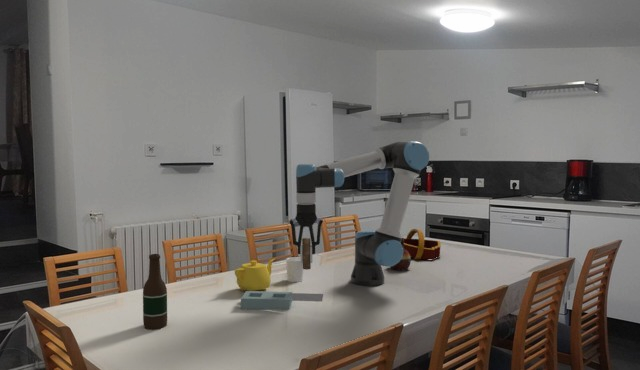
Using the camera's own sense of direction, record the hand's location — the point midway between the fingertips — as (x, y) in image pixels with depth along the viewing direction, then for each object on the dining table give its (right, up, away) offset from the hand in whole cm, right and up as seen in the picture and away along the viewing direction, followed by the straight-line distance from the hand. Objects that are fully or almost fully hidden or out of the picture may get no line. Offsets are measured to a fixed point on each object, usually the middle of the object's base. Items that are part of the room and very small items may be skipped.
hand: (306, 262), depth 202 cm
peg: (0, -3, 0) cm, 3 cm away
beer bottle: (-49, -16, -33) cm, 62 cm away
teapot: (-22, -14, +12) cm, 29 cm away
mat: (-1, -14, +1) cm, 14 cm away
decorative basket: (+59, -9, +88) cm, 107 cm away
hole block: (-15, -15, -10) cm, 23 cm away
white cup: (-6, -13, +27) cm, 30 cm away
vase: (+45, -12, +53) cm, 71 cm away
